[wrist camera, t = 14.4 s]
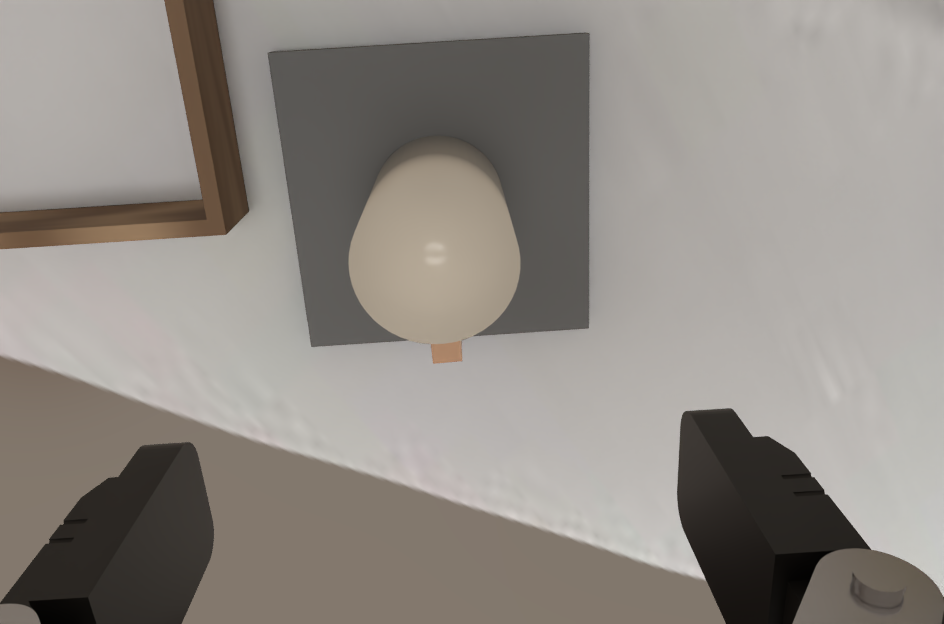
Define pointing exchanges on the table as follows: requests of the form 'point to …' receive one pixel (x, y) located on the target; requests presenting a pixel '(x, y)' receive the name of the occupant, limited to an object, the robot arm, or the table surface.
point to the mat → (440, 114)
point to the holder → (211, 150)
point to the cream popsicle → (435, 246)
